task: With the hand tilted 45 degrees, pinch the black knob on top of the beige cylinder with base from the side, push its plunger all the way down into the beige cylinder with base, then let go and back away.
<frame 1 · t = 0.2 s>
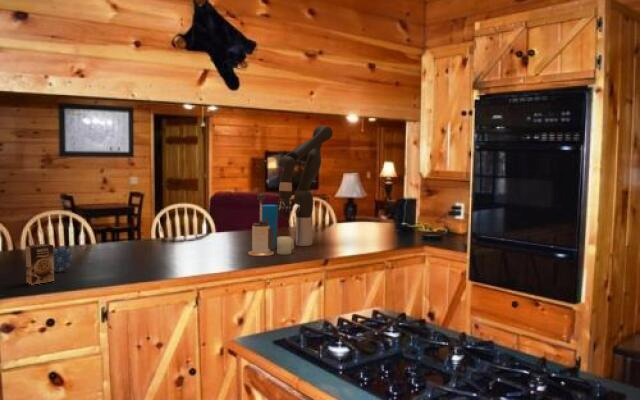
hand: (284, 217, 321), 18 cm above the counter, tool pointing down, fingers open, 8 cm apart
plunger: (261, 213, 298), point 22 cm above the counter, slide at 0.0 cm
grapes: (59, 272, 250), on the counter
beige cylinder with base: (261, 253, 300), on the counter
blue tapered block: (268, 247, 322), on the counter
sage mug: (284, 253, 303), on the counter
coffee box: (40, 283, 229), on the counter
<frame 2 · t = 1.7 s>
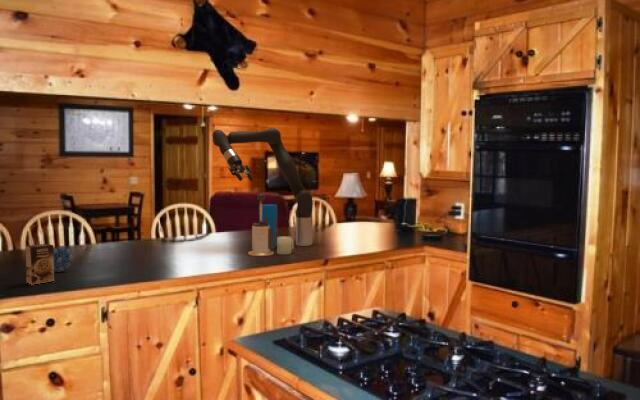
hand: (246, 179, 303), 41 cm above the counter, tool tilted 45°, fingers open, 8 cm apart
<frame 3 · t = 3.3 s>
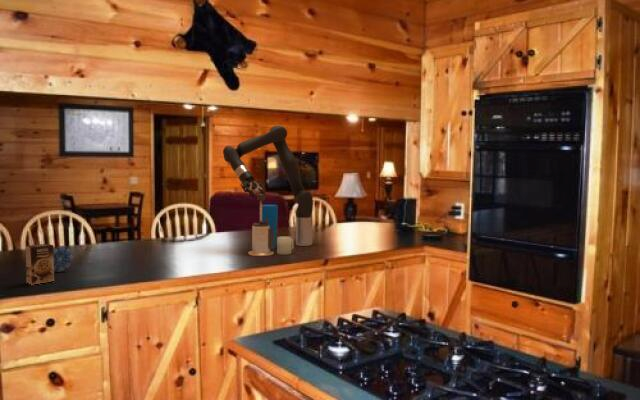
hand: (259, 196, 298), 32 cm above the counter, tool tilted 45°, fingers open, 8 cm apart
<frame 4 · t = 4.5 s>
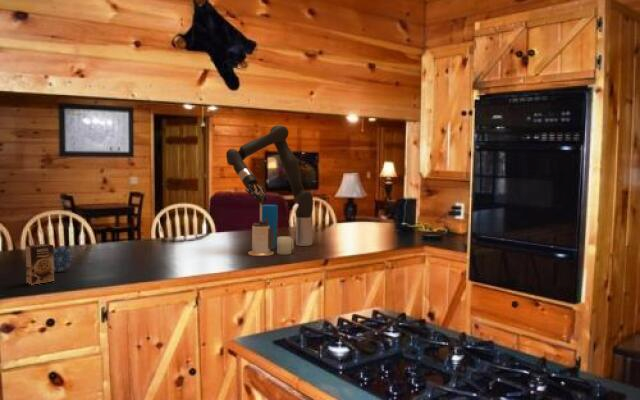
hand: (263, 200, 297), 30 cm above the counter, tool tilted 45°, fingers closed on plunger, 3 cm apart
plunger: (261, 213, 298), point 22 cm above the counter, slide at 0.0 cm, touching gripper
everything else where it was.
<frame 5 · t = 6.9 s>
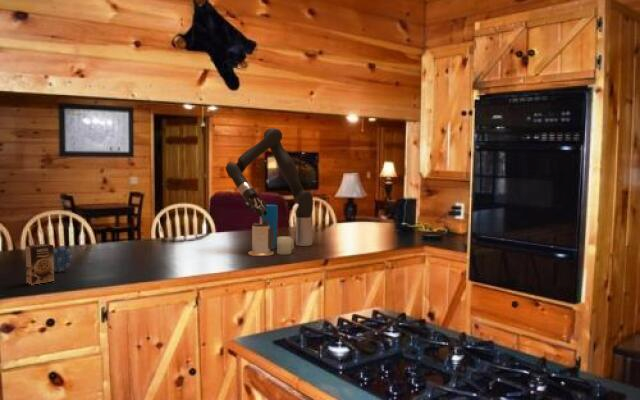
hand: (263, 214, 297), 22 cm above the counter, tool tilted 45°, fingers closed on plunger, 3 cm apart
plunger: (261, 227, 299), point 15 cm above the counter, slide at 7.7 cm, touching gripper
everything else where it was.
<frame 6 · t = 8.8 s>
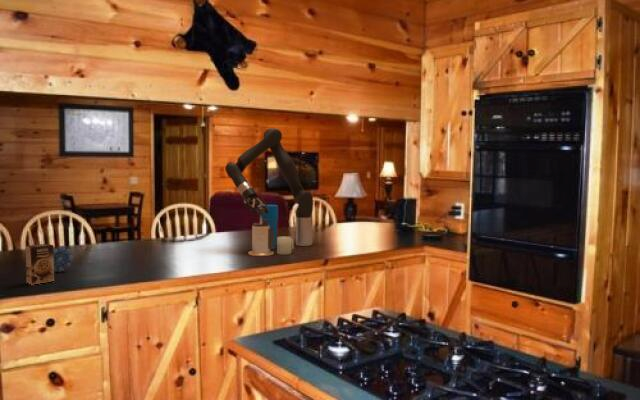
hand: (262, 213, 298), 23 cm above the counter, tool tilted 45°, fingers open, 8 cm apart
plunger: (261, 227, 299), point 15 cm above the counter, slide at 7.7 cm
everything else where it was.
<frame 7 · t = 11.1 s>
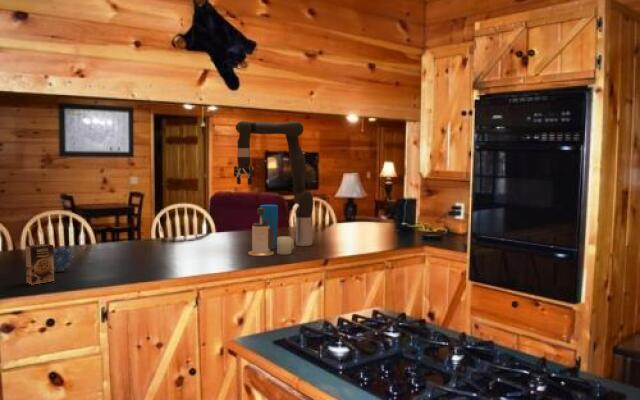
hand: (244, 184, 311), 38 cm above the counter, tool pointing down, fingers open, 8 cm apart
nothing on the counter moved.
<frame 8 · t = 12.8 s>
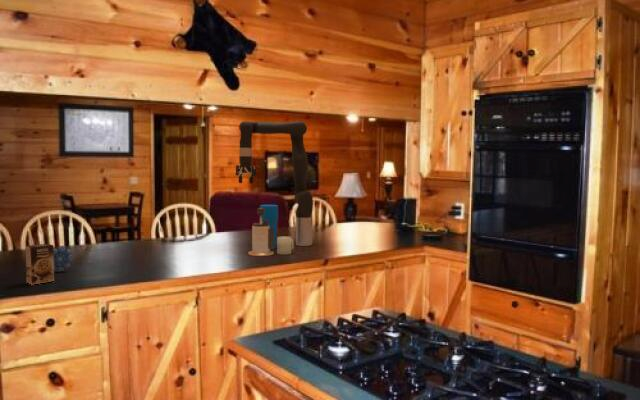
hand: (245, 183, 317), 38 cm above the counter, tool pointing down, fingers open, 8 cm apart
nothing on the counter moved.
at the end: plunger slide at 7.7 cm; the gripper is holding nothing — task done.
